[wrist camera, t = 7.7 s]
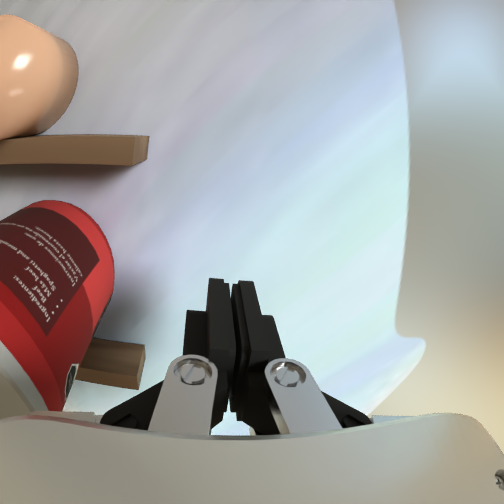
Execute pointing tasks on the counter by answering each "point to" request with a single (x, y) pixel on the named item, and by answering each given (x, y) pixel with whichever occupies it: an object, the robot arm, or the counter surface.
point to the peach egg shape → (33, 78)
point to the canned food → (48, 302)
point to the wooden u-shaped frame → (90, 152)
